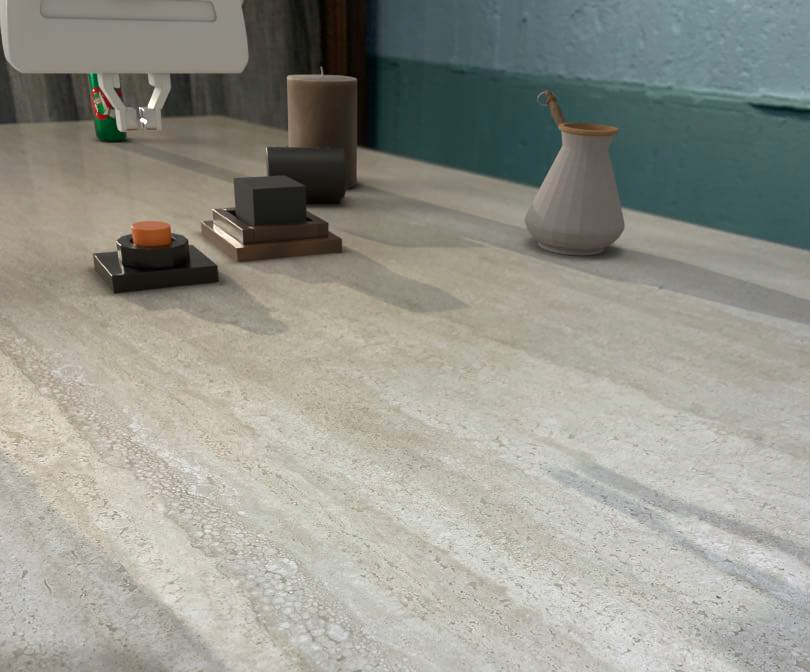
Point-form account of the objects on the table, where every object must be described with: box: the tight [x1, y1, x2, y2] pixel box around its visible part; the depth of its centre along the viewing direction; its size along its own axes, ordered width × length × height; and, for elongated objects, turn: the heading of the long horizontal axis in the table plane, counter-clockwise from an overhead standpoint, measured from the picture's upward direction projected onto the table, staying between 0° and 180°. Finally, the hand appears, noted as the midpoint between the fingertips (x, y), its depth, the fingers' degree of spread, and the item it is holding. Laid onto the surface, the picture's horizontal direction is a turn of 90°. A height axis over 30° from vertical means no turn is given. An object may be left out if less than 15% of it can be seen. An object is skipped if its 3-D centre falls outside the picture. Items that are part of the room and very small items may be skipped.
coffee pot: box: [524, 88, 626, 256], centre depth 101 cm, size 21×12×15 cm, turn 10°
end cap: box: [265, 145, 347, 204], centre depth 113 cm, size 10×7×7 cm
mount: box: [200, 206, 343, 263], centre depth 96 cm, size 12×12×3 cm
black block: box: [233, 175, 307, 227], centre depth 95 cm, size 6×6×5 cm
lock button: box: [130, 220, 172, 246], centre depth 83 cm, size 4×4×2 cm
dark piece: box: [92, 232, 220, 294], centre depth 84 cm, size 10×8×4 cm
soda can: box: [86, 73, 128, 143], centre depth 144 cm, size 5×5×12 cm
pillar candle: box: [286, 66, 358, 191], centre depth 121 cm, size 10×10×15 cm
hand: (140, 130), depth 78 cm, fingers closed
